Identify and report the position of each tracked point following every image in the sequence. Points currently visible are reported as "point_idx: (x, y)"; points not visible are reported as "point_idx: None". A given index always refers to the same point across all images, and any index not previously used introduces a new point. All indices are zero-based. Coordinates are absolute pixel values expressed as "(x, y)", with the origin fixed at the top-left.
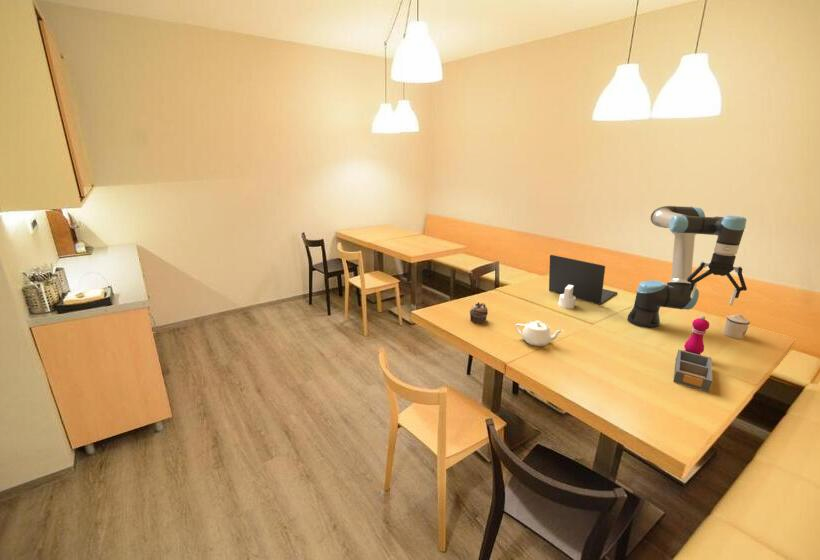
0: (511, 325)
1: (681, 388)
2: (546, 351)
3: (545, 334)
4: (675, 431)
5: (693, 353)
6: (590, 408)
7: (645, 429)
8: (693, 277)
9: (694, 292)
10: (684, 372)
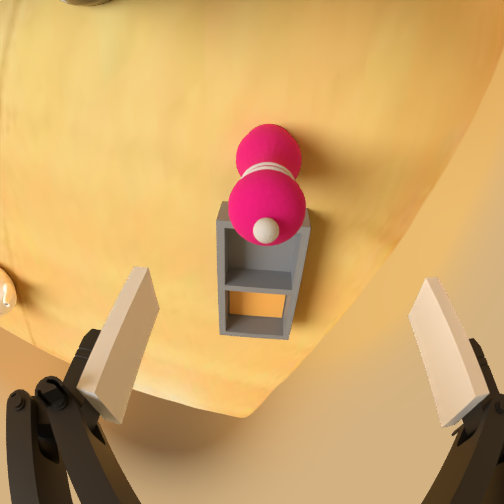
0: None
1: None
2: (30, 303)
3: (5, 311)
4: (233, 398)
5: None
6: (146, 392)
7: (204, 402)
8: (63, 473)
9: (142, 354)
10: (235, 333)
